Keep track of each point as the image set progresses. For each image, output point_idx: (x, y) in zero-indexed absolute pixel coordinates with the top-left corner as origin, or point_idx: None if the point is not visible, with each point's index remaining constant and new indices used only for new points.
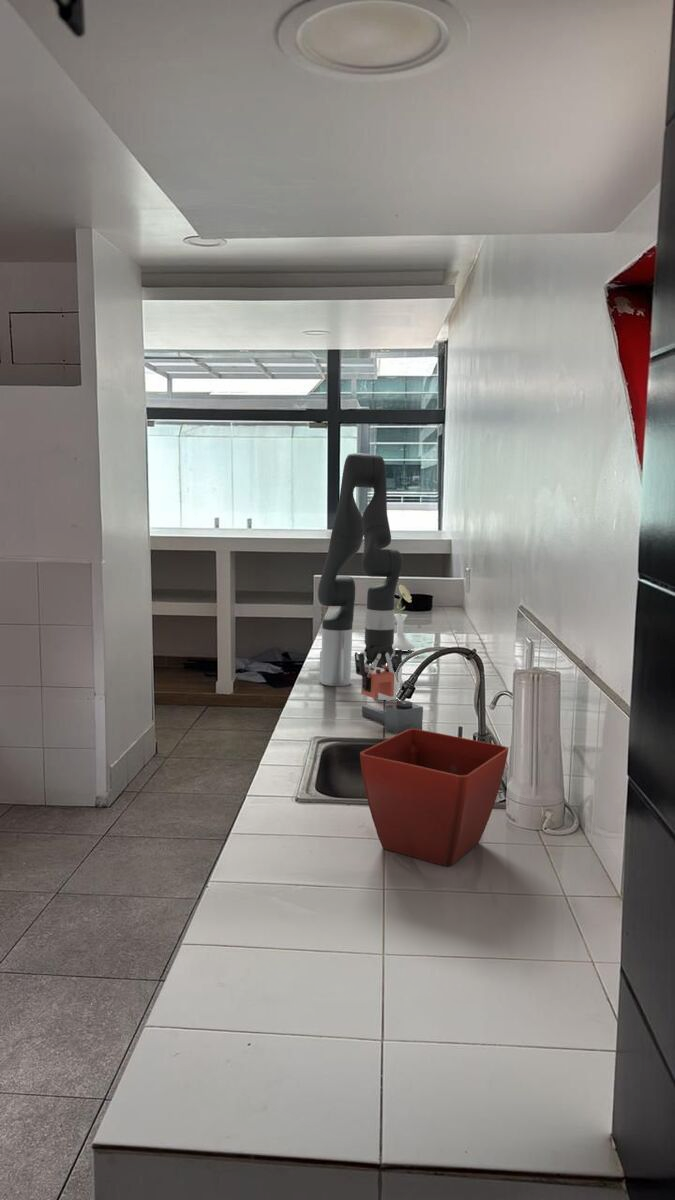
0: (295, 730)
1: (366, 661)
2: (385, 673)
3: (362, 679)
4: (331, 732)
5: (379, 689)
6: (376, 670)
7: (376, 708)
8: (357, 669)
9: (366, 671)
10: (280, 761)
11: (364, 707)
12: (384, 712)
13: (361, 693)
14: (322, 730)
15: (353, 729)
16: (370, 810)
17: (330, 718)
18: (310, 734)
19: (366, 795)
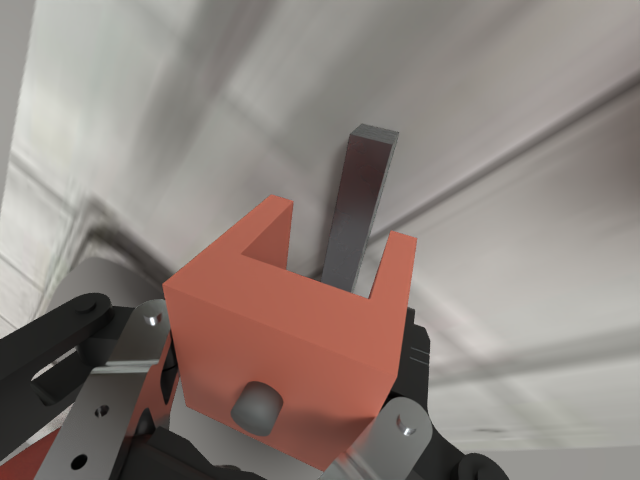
0: (53, 114)
1: (70, 433)
2: (291, 438)
3: (213, 249)
4: (142, 204)
5: (378, 268)
6: (235, 406)
7: (367, 218)
8: (49, 331)
9: (156, 348)
10: (10, 253)
11: (346, 155)
12: (340, 276)
13: (269, 197)
14: (125, 172)
15: (209, 230)
16: (32, 444)
17: (208, 66)
18: (85, 176)
19: (14, 456)
